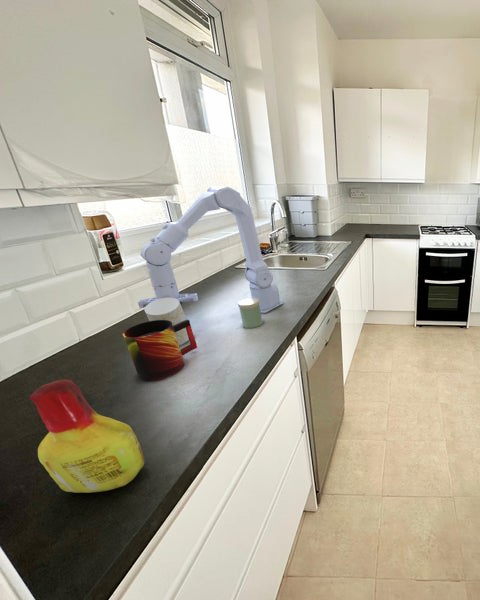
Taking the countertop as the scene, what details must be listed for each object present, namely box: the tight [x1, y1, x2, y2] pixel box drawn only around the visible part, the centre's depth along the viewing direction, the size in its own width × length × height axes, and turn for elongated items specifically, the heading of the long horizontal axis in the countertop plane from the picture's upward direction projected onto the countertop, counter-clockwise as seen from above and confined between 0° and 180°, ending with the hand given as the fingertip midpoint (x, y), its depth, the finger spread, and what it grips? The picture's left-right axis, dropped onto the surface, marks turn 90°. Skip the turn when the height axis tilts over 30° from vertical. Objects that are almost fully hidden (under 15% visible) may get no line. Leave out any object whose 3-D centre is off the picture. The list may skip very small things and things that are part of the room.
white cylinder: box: [144, 297, 189, 346], centre depth 91 cm, size 8×8×12 cm
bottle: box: [29, 379, 145, 494], centre depth 47 cm, size 12×6×20 cm, turn 100°
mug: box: [122, 319, 198, 382], centre depth 80 cm, size 10×14×12 cm
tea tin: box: [237, 297, 264, 329], centre depth 103 cm, size 6×6×8 cm
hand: (176, 324), depth 97 cm, fingers closed, pressing on white cylinder
